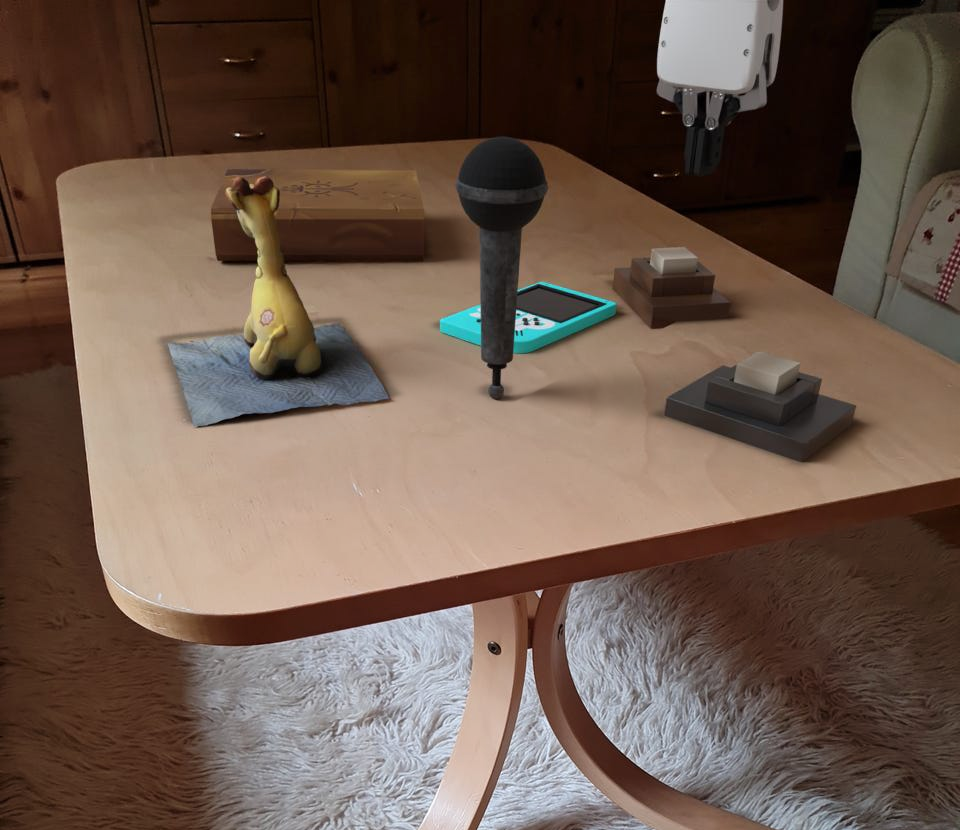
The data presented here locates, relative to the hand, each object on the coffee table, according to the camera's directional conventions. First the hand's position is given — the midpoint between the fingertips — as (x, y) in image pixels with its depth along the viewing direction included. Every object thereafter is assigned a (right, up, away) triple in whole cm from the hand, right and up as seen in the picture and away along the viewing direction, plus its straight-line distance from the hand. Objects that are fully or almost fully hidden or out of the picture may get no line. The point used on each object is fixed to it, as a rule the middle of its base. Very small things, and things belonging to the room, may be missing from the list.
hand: (700, 172), depth 96 cm
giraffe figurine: (-39, -21, -7) cm, 45 cm away
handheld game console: (-16, -13, +4) cm, 21 cm away
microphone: (-20, -24, -11) cm, 33 cm away
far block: (-2, -10, +8) cm, 13 cm away
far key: (-2, -7, +6) cm, 9 cm away
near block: (+1, -27, -14) cm, 31 cm away
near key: (+1, -24, -16) cm, 29 cm away
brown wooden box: (-39, +3, +24) cm, 47 cm away
